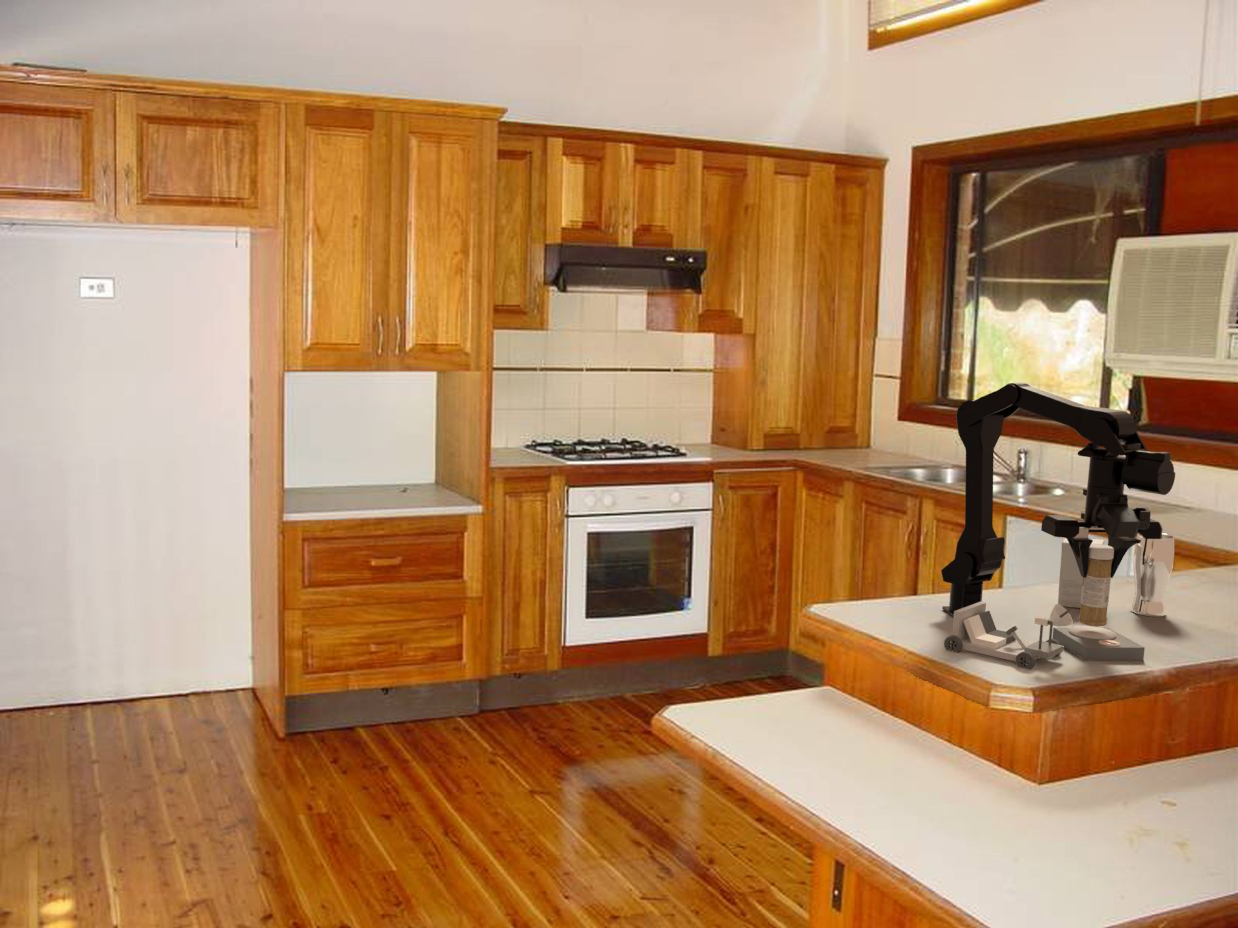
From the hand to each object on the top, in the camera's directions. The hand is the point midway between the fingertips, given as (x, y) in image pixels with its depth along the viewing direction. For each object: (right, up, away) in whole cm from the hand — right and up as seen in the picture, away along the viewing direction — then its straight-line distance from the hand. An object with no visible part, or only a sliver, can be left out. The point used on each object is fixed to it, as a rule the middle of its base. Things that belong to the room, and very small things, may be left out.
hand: (1096, 577), depth 211 cm
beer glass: (+20, -9, +27) cm, 35 cm away
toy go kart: (-16, -13, -5) cm, 21 cm away
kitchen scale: (0, -12, 0) cm, 12 cm away
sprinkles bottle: (0, -8, +1) cm, 8 cm away
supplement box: (+8, -8, +32) cm, 34 cm away
